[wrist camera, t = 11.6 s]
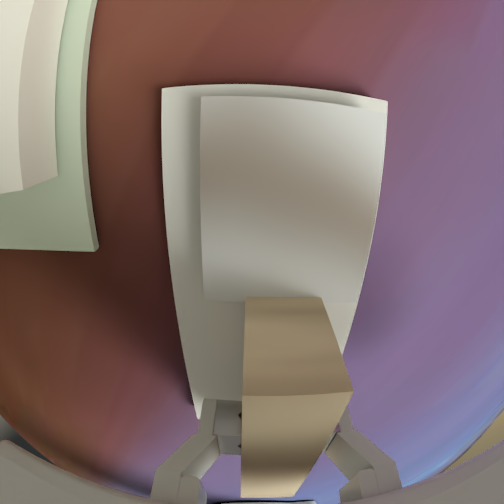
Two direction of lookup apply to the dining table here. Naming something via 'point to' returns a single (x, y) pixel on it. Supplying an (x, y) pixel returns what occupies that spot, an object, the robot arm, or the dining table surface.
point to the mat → (60, 158)
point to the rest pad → (190, 248)
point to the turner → (287, 263)
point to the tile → (28, 90)
